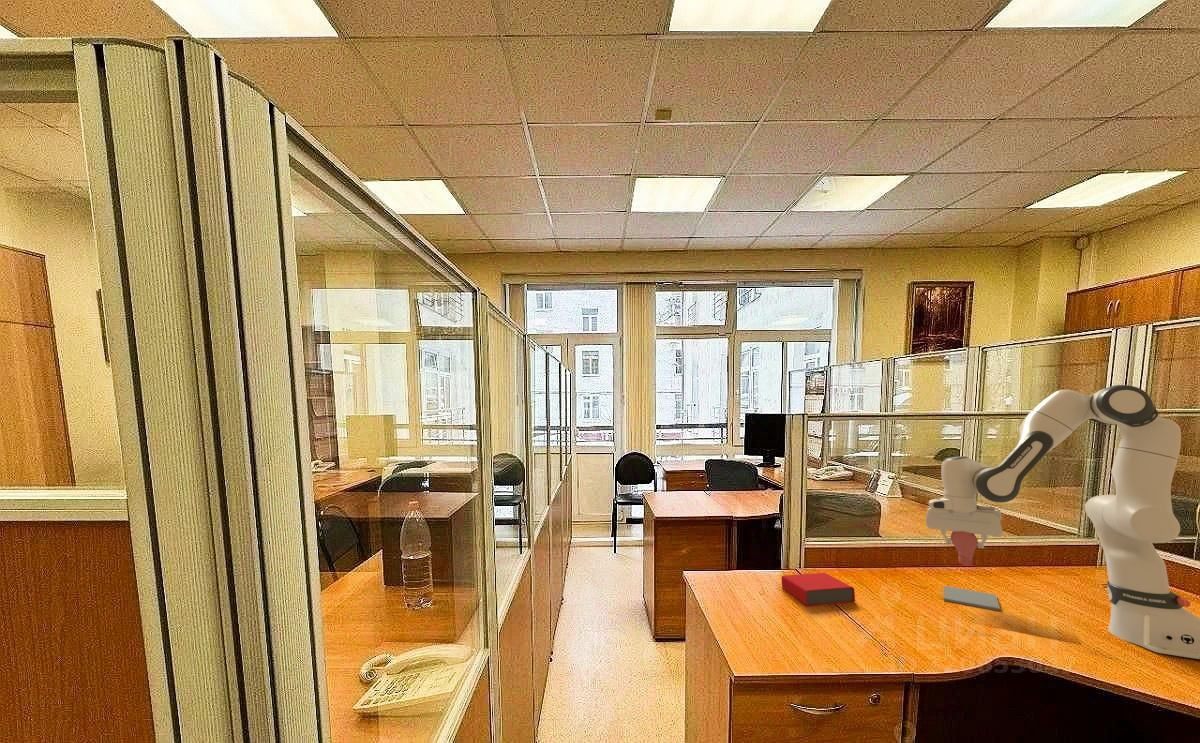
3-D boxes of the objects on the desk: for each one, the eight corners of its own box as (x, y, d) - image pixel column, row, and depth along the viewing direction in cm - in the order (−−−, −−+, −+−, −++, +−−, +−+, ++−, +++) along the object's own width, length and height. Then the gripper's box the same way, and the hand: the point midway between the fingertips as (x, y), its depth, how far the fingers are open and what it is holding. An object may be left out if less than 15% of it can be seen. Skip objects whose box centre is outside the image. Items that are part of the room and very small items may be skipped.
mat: (995, 597, 148) (995, 594, 148) (1000, 611, 137) (1000, 608, 137) (943, 587, 156) (943, 585, 157) (943, 600, 146) (943, 598, 146)
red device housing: (827, 586, 160) (826, 572, 160) (855, 602, 146) (854, 586, 146) (782, 590, 157) (781, 575, 158) (806, 606, 143) (805, 590, 144)
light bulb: (986, 568, 144) (982, 531, 146) (964, 569, 144) (960, 531, 146) (969, 562, 151) (964, 526, 153) (948, 562, 152) (944, 526, 153)
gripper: (999, 506, 147) (1004, 548, 145) (924, 499, 159) (928, 539, 157) (1001, 509, 142) (1007, 553, 140) (923, 502, 154) (927, 543, 152)
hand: (964, 545), depth 149 cm, fingers closed on light bulb, 7 cm apart
